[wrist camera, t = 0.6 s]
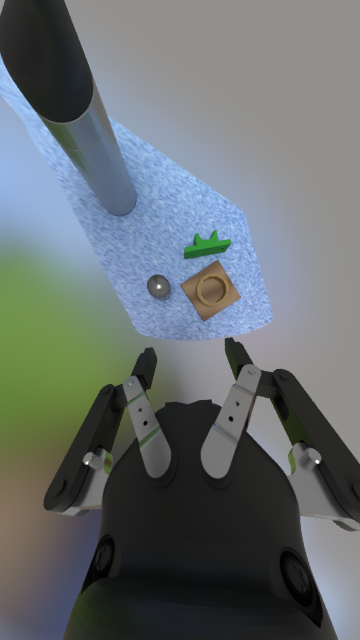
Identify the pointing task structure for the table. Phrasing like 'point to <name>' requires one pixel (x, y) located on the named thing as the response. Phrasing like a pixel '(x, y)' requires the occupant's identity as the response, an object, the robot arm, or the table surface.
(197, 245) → the green bracket
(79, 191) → the table surface
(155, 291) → the grey lidded jar
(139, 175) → the table surface
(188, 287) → the ring seat
